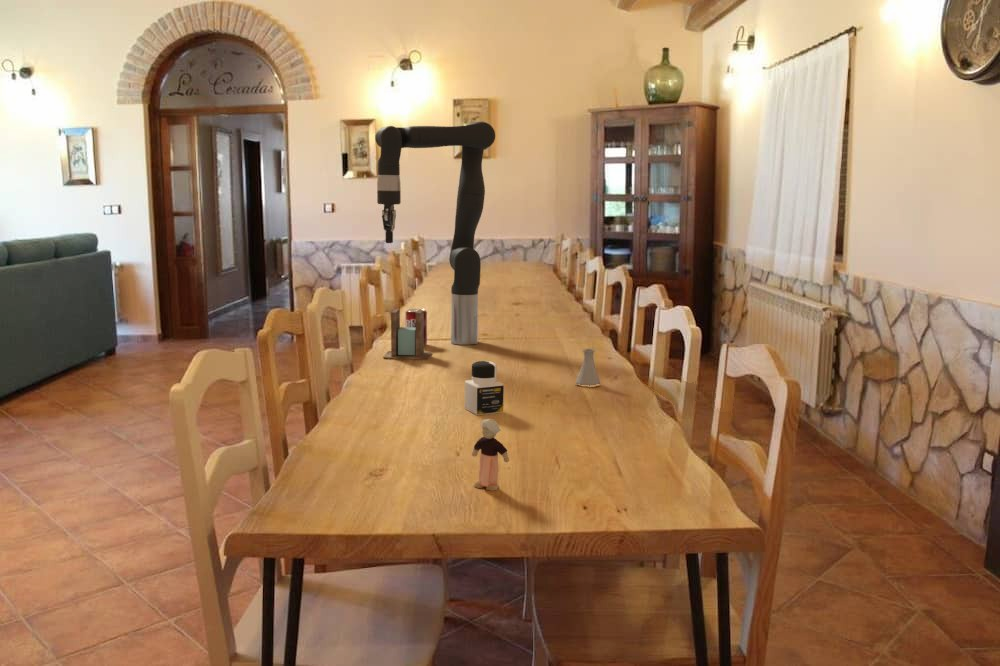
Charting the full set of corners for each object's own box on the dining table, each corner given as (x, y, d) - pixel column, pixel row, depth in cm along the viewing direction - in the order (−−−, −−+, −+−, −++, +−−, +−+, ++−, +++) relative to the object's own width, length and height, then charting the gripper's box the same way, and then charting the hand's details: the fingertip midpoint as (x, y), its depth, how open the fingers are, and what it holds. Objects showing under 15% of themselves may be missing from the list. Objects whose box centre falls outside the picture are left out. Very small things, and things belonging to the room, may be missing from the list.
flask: (604, 384, 234) (605, 348, 232) (596, 389, 227) (597, 353, 226) (579, 381, 237) (580, 346, 235) (570, 386, 230) (572, 350, 229)
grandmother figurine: (465, 488, 151) (465, 419, 149) (473, 481, 154) (474, 414, 152) (505, 494, 148) (506, 424, 146) (513, 487, 151) (514, 418, 149)
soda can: (425, 347, 285) (425, 312, 282) (404, 346, 285) (404, 311, 283) (427, 343, 292) (427, 308, 290) (407, 342, 292) (406, 308, 290)
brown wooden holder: (431, 353, 273) (431, 309, 271) (427, 359, 263) (427, 313, 261) (388, 352, 274) (388, 308, 271) (383, 358, 264) (382, 312, 261)
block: (417, 352, 271) (417, 327, 270) (415, 355, 266) (414, 330, 264) (400, 351, 271) (400, 327, 270) (397, 354, 266) (397, 329, 264)
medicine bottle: (477, 416, 199) (477, 366, 197) (464, 409, 205) (464, 360, 203) (503, 412, 202) (504, 363, 200) (490, 406, 208) (490, 358, 206)
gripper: (397, 189, 267) (397, 244, 270) (403, 189, 280) (403, 242, 283) (373, 189, 267) (374, 244, 270) (381, 189, 280) (381, 241, 283)
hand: (389, 242), depth 277 cm, fingers closed
